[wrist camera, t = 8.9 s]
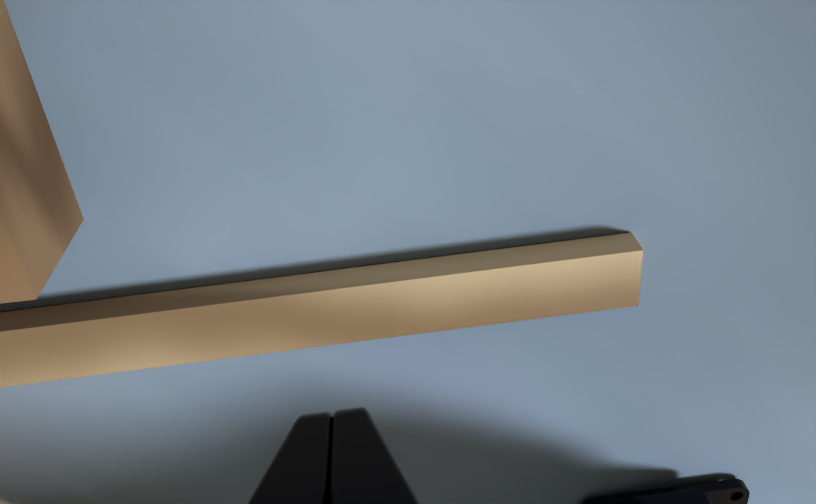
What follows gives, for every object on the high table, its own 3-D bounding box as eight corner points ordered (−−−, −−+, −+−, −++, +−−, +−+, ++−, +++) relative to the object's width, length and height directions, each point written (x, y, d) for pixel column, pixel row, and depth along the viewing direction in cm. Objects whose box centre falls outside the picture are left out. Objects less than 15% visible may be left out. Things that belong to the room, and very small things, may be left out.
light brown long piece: (627, 286, 23) (662, 348, 20) (-181, 389, 22) (-246, 465, 20) (670, -253, 15) (736, -262, 13) (-545, -113, 15) (-725, -94, 12)
